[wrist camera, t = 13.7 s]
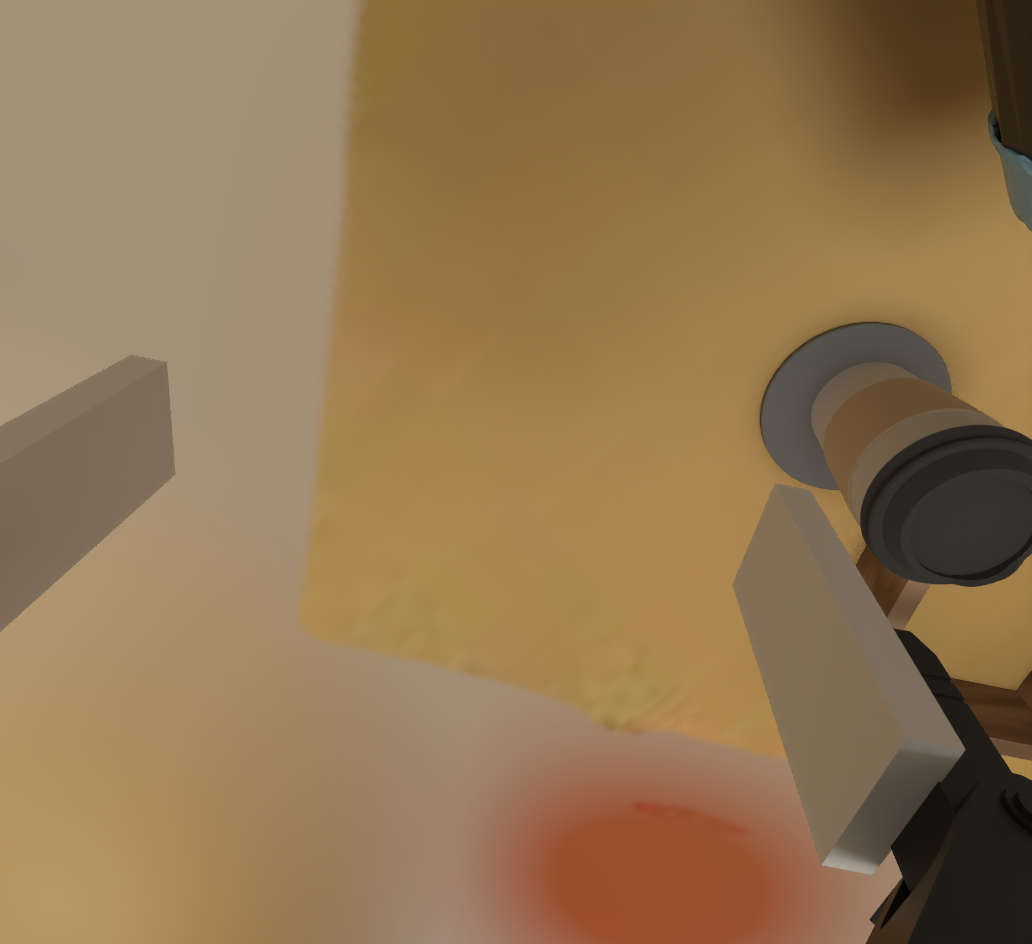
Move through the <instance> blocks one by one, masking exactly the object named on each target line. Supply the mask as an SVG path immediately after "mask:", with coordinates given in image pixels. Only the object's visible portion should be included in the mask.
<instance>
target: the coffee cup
mask: <svg viewBox="0 0 1032 944" xmlns="http://www.w3.org/2000/svg"><path fill="white" fill-rule="evenodd" d="M811 424H812V428H813V431H814V433H815V435H816V437H817V439H818V441H819V443H820V445H821V447H822V449H823V452H824V457H825V460H826V463H827V465H828V467H829V469H830V471H831V473H832V475H833V477H834V479H835V481H836V483H837V485H838V487H839V489H840V491H841V493H842V495H843V497H844V499H845V501H846V503H847V505H848V507H849V509H850V511H851V513H852V515H853V517H854V519H855V520H856V522H857V523H858V524H859V525H860V527H861V531H862V535H863V538H864V540H865V542H866V544H867V546H868V548H869V549H870V550H871V552H872V553H873V554H874V555H875V556H876V557H877V558H878V560H879V561H880V562H881V563H882V564H883V565H884V566H885V567H886V568H887V569H889V570H890V571H892V572H893V573H895V574H897V575H899V576H901V577H903V578H905V579H908V580H912V581H915V582H920V583H926V584H956V585H960V586H967V587H976V586H982V585H987V584H991V583H994V582H997V581H1000V580H1003V579H1005V578H1007V577H1009V576H1010V575H1012V574H1013V573H1014V572H1015V571H1016V570H1017V569H1018V568H1019V566H1020V565H1021V564H1022V563H1023V561H1024V560H1025V559H1026V558H1027V557H1028V556H1030V555H1031V554H1032V440H1031V439H1030V438H1028V437H1026V436H1025V435H1023V434H1021V433H1019V432H1016V431H1014V430H1011V429H1008V428H1005V427H1004V426H1003V425H1002V424H1000V423H999V422H998V421H996V420H995V419H993V418H991V417H990V416H988V415H986V414H985V413H983V412H981V411H979V410H978V409H976V408H974V407H973V406H971V405H969V404H967V403H966V402H964V401H962V400H961V399H959V398H957V397H955V396H954V395H952V394H950V393H948V392H947V391H945V390H943V389H942V388H940V387H938V386H936V385H935V384H933V383H930V382H927V381H924V380H922V379H920V378H918V377H917V376H915V375H913V374H912V373H910V372H908V371H907V370H905V369H903V368H901V367H899V366H897V365H895V364H891V363H887V362H867V363H862V364H858V365H855V366H852V367H850V368H847V369H845V370H843V371H842V372H840V373H838V374H837V375H835V376H834V377H833V378H832V379H831V380H829V381H828V382H827V383H826V384H825V385H824V387H823V388H822V389H821V390H820V392H819V393H818V395H817V397H816V399H815V401H814V404H813V407H812V411H811Z"/></svg>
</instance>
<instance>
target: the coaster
mask: <svg viewBox="0 0 1032 944" xmlns="http://www.w3.org/2000/svg"><path fill="white" fill-rule="evenodd" d="M867 362H887V363H891V364H895V365H897V366H899V367H901V368H903V369H905V370H907V371H908V372H910V373H912V374H913V375H915V376H917V377H918V378H920V379H922V380H924V381H927V382H930V383H933V384H935V385H936V386H938V387H940V388H942V389H943V390H945V391H947V392H948V393H950V394H951V381H950V376H949V373H948V370H947V367H946V365H945V363H944V361H943V359H942V357H941V356H940V354H939V353H938V352H937V351H936V349H935V348H934V347H933V346H932V345H930V344H929V343H928V342H927V341H926V340H924V339H923V338H921V337H920V336H918V335H917V334H915V333H914V332H912V331H909V330H907V329H905V328H903V327H899V326H896V325H892V324H887V323H879V322H863V323H854V324H849V325H845V326H841V327H837V328H835V329H832V330H829V331H826V332H824V333H822V334H820V335H818V336H816V337H814V338H813V339H811V340H809V341H808V342H806V343H805V344H803V345H802V346H801V347H799V348H798V349H797V350H796V351H794V352H793V353H792V354H791V355H790V356H789V357H788V358H787V359H786V360H785V361H784V362H783V364H782V365H781V366H780V367H779V369H778V370H777V371H776V373H775V374H774V376H773V378H772V379H771V381H770V383H769V385H768V387H767V389H766V391H765V395H764V398H763V401H762V406H761V412H760V425H761V433H762V436H763V440H764V443H765V445H766V447H767V449H768V451H769V453H770V455H771V456H772V458H773V459H774V461H775V462H776V463H777V464H778V465H779V467H780V468H781V469H782V470H783V471H785V472H786V473H787V474H789V475H790V476H791V477H793V478H795V479H796V480H798V481H800V482H803V483H805V484H807V485H810V486H814V487H818V488H823V489H830V490H840V489H839V487H838V485H837V483H836V481H835V479H834V477H833V475H832V473H831V471H830V469H829V467H828V465H827V463H826V460H825V457H824V452H823V449H822V447H821V445H820V443H819V441H818V439H817V437H816V435H815V433H814V431H813V428H812V424H811V411H812V407H813V404H814V401H815V399H816V397H817V395H818V393H819V392H820V390H821V389H822V388H823V387H824V385H825V384H826V383H827V382H828V381H829V380H831V379H832V378H833V377H834V376H835V375H837V374H838V373H840V372H842V371H843V370H845V369H847V368H850V367H852V366H855V365H858V364H862V363H867Z"/></svg>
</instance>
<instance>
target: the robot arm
mask: <svg viewBox="0 0 1032 944" xmlns="http://www.w3.org/2000/svg"><path fill="white" fill-rule="evenodd" d="M976 2H977V8H978V15H979V22H980V28H981V35H982V42H983V48H984V55H985V62H986V68H987V75H988V82H989V89H990V95H991V102H992V110H991V112H990V114H989V116H988V128H989V135H990V139H991V141H992V143H993V145H994V146H995V148H996V150H997V151H998V153H999V155H1000V157H1001V161H1002V166H1003V171H1004V176H1005V181H1006V186H1007V191H1008V195H1009V199H1010V203H1011V206H1012V209H1013V211H1014V213H1015V214H1016V216H1017V217H1018V219H1019V220H1020V221H1022V222H1023V223H1025V224H1026V226H1027V227H1028V229H1029V230H1030V231H1032V0H976ZM174 475H175V464H174V451H173V438H172V425H171V411H170V399H169V385H168V373H167V362H163V361H159V360H153V359H149V358H144V357H138V356H133V355H130V356H129V357H127V358H125V359H123V360H121V361H119V362H117V363H115V364H114V365H112V366H110V367H108V368H106V369H104V370H103V371H101V372H99V373H97V374H95V375H93V376H92V377H90V378H88V379H86V380H84V381H82V382H81V383H79V384H77V385H75V386H73V387H71V388H70V389H68V390H66V391H64V392H62V393H61V394H59V395H57V396H55V397H53V398H51V399H49V400H48V401H46V402H44V403H42V404H40V405H39V406H37V407H35V408H33V409H31V410H29V411H27V412H26V413H24V414H22V415H20V416H18V417H16V418H15V419H13V420H11V421H9V422H7V423H5V424H4V425H2V426H0V632H1V631H2V630H3V629H4V628H5V627H6V626H7V625H8V624H9V623H11V622H12V621H13V620H14V619H15V618H16V617H17V616H18V615H19V614H21V613H22V612H23V611H24V610H25V609H26V608H27V607H28V606H29V605H30V604H32V603H33V602H34V601H35V600H36V599H37V598H38V597H40V596H41V595H42V594H43V593H44V592H45V591H46V590H47V589H48V588H50V586H52V585H53V584H54V583H55V582H56V581H57V580H58V579H60V578H61V577H62V576H63V575H64V574H65V573H66V572H67V571H68V570H69V569H71V568H72V567H73V566H74V565H75V564H76V563H77V562H78V561H80V560H81V559H82V558H83V557H84V556H85V555H86V554H87V553H88V552H89V551H91V550H92V549H93V548H94V547H95V546H96V545H97V544H98V543H100V542H101V541H102V540H103V539H104V538H105V537H106V536H107V535H108V534H110V532H112V531H113V530H114V529H115V528H116V527H117V526H118V525H119V524H121V523H122V522H123V521H124V520H125V519H126V518H127V517H128V516H130V515H131V514H132V513H133V512H134V511H135V510H136V509H137V508H139V506H141V505H142V504H143V503H144V502H145V501H146V500H147V499H149V498H150V497H151V496H152V495H153V494H154V493H155V492H156V491H157V490H158V489H160V488H161V487H162V486H163V485H164V484H165V483H166V482H167V481H169V480H170V479H171V478H172V477H173V476H174ZM733 588H734V591H735V594H736V597H737V600H738V603H739V606H740V610H741V613H742V616H743V619H744V622H745V625H746V629H747V632H748V635H749V638H750V641H751V644H752V647H753V651H754V654H755V657H756V660H757V663H758V666H759V670H760V673H761V676H762V679H763V682H764V685H765V688H766V692H767V695H768V698H769V701H770V704H771V707H772V711H773V714H774V717H775V720H776V723H777V726H778V729H779V733H780V736H781V739H782V742H783V745H784V748H785V752H786V755H787V758H788V761H789V764H790V767H791V770H792V774H793V776H794V780H795V783H796V786H797V789H798V793H799V796H800V799H801V802H802V805H803V808H804V811H805V815H806V818H807V821H808V824H809V827H810V830H811V834H812V837H813V840H814V843H815V846H816V849H817V853H818V856H819V858H820V862H821V865H824V866H829V867H834V868H839V869H845V870H850V871H856V872H860V873H865V874H871V875H873V874H874V872H875V871H876V870H877V868H878V867H879V866H880V864H881V863H882V862H883V860H884V859H885V858H886V856H887V855H888V854H889V852H890V851H891V850H892V851H893V854H894V856H895V859H896V861H897V864H898V866H899V868H900V871H901V873H902V876H903V877H902V879H901V880H900V881H899V883H898V884H897V885H896V887H895V888H894V889H893V890H892V891H891V893H890V894H889V895H888V897H887V898H886V899H885V900H884V902H883V903H882V904H881V905H880V907H879V908H878V909H877V911H876V912H875V913H874V915H873V916H872V917H871V918H870V921H871V922H872V923H873V924H875V926H874V928H873V930H872V932H871V934H870V936H869V938H868V940H867V943H866V944H1032V780H1030V779H1028V778H1026V777H1024V776H1022V775H1018V774H1014V773H1012V772H1011V770H1010V769H1009V767H1008V766H1007V764H1006V763H1005V761H1004V760H1003V758H1002V757H1001V755H1000V753H999V752H998V750H997V749H996V747H995V746H994V744H993V743H992V741H991V740H990V738H989V736H988V735H987V733H986V732H985V730H984V729H983V727H982V726H981V724H980V723H979V721H978V719H977V718H976V716H975V715H974V713H973V712H972V710H971V709H970V707H969V706H968V704H965V703H964V698H963V696H962V695H961V693H960V692H959V690H958V689H957V687H956V686H955V684H953V683H951V678H950V676H949V675H948V673H947V672H946V670H945V669H944V667H943V665H942V664H941V662H940V661H939V659H938V658H937V656H936V655H935V654H934V653H933V652H932V651H931V650H930V649H929V648H928V647H927V646H926V645H924V644H923V643H922V642H921V641H920V640H919V639H918V638H917V637H916V636H915V635H914V634H913V633H911V632H910V631H905V630H900V629H895V628H893V627H892V626H891V624H890V622H889V621H888V619H887V617H886V616H885V614H884V612H883V611H882V609H881V607H880V606H879V604H878V602H877V601H876V599H875V597H874V596H873V594H872V592H871V591H870V589H869V587H868V586H867V584H866V582H865V581H864V579H863V577H862V576H861V574H860V572H859V571H858V569H857V567H856V566H855V564H854V562H853V561H852V559H851V557H850V556H849V554H848V552H847V551H846V549H845V547H844V546H843V544H842V542H841V541H840V539H839V537H838V536H837V534H836V532H835V531H834V529H833V527H832V526H831V524H830V522H829V521H828V519H827V517H826V516H825V514H824V512H823V511H822V509H821V507H820V506H819V504H818V502H817V501H816V499H815V497H814V496H813V494H812V492H811V491H810V490H806V489H801V488H796V487H791V486H786V485H781V484H776V483H775V485H774V487H773V490H772V492H771V494H770V497H769V499H768V502H767V504H766V506H765V509H764V511H763V513H762V516H761V518H760V521H759V523H758V525H757V528H756V530H755V532H754V535H753V537H752V540H751V542H750V544H749V547H748V549H747V551H746V554H745V556H744V559H743V561H742V563H741V566H740V568H739V571H738V573H737V575H736V578H735V580H734V582H733Z"/></svg>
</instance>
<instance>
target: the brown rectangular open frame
mask: <svg viewBox="0 0 1032 944" xmlns="http://www.w3.org/2000/svg"><path fill="white" fill-rule="evenodd" d="M856 567H857V569H858V571H859V572H860V574H861V576H862V577H863V579H864V581H865V582H866V584H867V586H868V587H869V589H870V591H871V592H872V594H873V596H874V597H875V599H876V601H877V602H878V604H879V606H880V607H881V609H882V611H883V612H884V614H885V616H886V617H887V619H888V621H889V622H890V624H891V626H892V627H893V628H895V629H900V630H903V629H904V628H905V626H906V624H907V623H908V621H909V619H910V618H911V616H912V614H913V613H914V611H915V609H916V608H917V606H918V604H919V603H920V601H921V600H922V598H923V596H924V595H925V593H926V591H927V590H928V588H929V586H930V585H931V584H926V583H920V582H915V581H912V580H908V579H905V578H903V577H901V576H899V575H897V574H895V573H893V572H892V571H890V570H889V569H887V568H886V567H885V566H884V565H883V564H882V563H881V562H880V561H879V560H878V558H877V557H876V556H875V555H874V554H873V553H872V552H871V550H870V549H869V548H868V546H866V548H865V550H864V552H863V554H862V556H861V557H860V559H859V561H858V563H857V565H856ZM951 683H953V684H955V686H956V687H957V689H958V690H959V692H960V693H961V695H962V696H963V698H964V703H965V704H968V706H969V707H970V709H971V710H972V712H973V713H974V715H975V716H976V718H977V719H978V721H979V723H980V724H981V726H982V727H983V729H984V730H985V732H986V733H987V735H988V736H989V738H990V740H991V741H992V743H993V744H994V746H995V747H996V749H997V750H998V752H999V753H1000V754H1001V755H1006V756H1011V757H1016V758H1021V759H1026V760H1031V761H1032V672H1031V673H1030V674H1029V676H1028V677H1027V678H1026V680H1025V681H1024V682H1023V684H1022V685H1021V686H1020V688H1019V689H1018V690H1017V691H1012V690H1007V689H1002V688H997V687H992V686H987V685H982V684H977V683H972V682H967V681H962V680H957V679H952V678H951Z"/></svg>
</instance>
